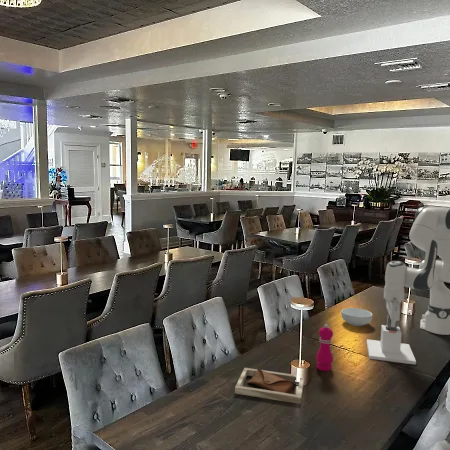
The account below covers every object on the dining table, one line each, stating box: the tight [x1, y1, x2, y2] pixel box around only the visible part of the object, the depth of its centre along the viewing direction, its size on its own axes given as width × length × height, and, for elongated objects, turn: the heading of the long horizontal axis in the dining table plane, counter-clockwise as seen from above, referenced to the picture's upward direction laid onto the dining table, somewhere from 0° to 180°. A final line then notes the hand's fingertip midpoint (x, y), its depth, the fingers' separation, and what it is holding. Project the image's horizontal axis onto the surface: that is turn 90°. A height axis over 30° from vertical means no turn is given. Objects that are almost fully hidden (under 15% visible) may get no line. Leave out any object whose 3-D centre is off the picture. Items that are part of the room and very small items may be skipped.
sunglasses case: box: [247, 368, 296, 394], centre depth 164 cm, size 18×7×7 cm, turn 51°
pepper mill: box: [315, 323, 334, 372], centre depth 181 cm, size 7×7×20 cm
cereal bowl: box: [340, 307, 373, 327], centre depth 237 cm, size 17×17×7 cm
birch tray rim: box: [234, 367, 305, 405], centre depth 164 cm, size 17×25×2 cm
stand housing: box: [365, 324, 417, 365], centre depth 198 cm, size 20×20×12 cm
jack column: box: [386, 314, 398, 331], centre depth 198 cm, size 4×4×16 cm
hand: (391, 323), depth 197 cm, fingers open, 7 cm apart
